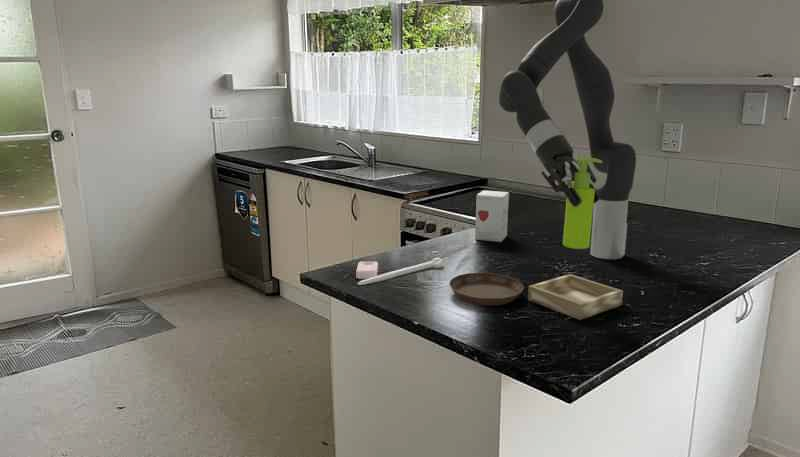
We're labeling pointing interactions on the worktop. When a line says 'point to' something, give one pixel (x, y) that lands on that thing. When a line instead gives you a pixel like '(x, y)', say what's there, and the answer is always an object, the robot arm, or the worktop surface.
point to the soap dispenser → (580, 209)
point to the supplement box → (491, 215)
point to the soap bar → (367, 270)
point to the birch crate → (575, 296)
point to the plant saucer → (486, 288)
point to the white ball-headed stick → (404, 271)
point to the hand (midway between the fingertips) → (587, 202)
